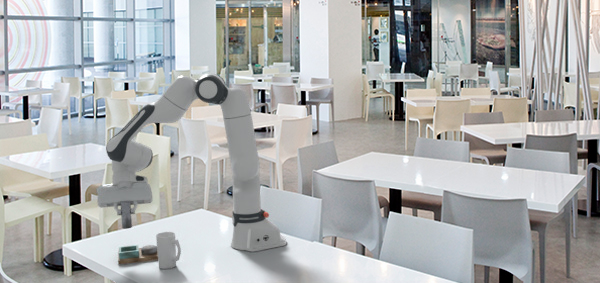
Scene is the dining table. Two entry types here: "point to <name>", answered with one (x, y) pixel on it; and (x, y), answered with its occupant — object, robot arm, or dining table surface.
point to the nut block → (137, 254)
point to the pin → (126, 214)
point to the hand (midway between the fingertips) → (126, 214)
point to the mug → (167, 250)
